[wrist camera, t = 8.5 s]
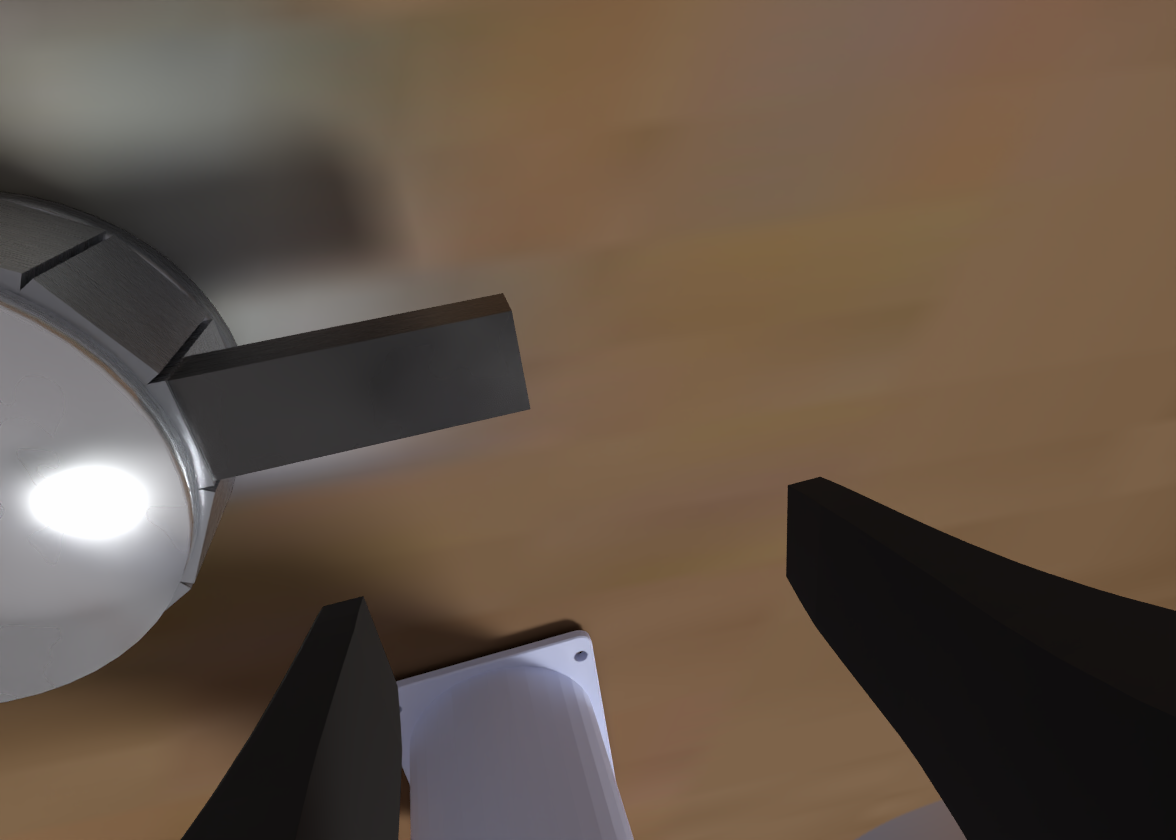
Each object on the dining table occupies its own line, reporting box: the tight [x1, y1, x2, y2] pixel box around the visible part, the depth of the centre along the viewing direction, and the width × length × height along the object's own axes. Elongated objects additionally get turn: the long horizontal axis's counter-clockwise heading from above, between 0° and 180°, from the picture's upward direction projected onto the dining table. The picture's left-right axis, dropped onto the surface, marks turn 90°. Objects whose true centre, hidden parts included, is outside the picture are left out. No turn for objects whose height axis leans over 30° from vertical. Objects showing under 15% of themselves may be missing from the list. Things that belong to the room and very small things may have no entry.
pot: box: [0, 192, 530, 610], centre depth 16 cm, size 10×20×5 cm, turn 97°
